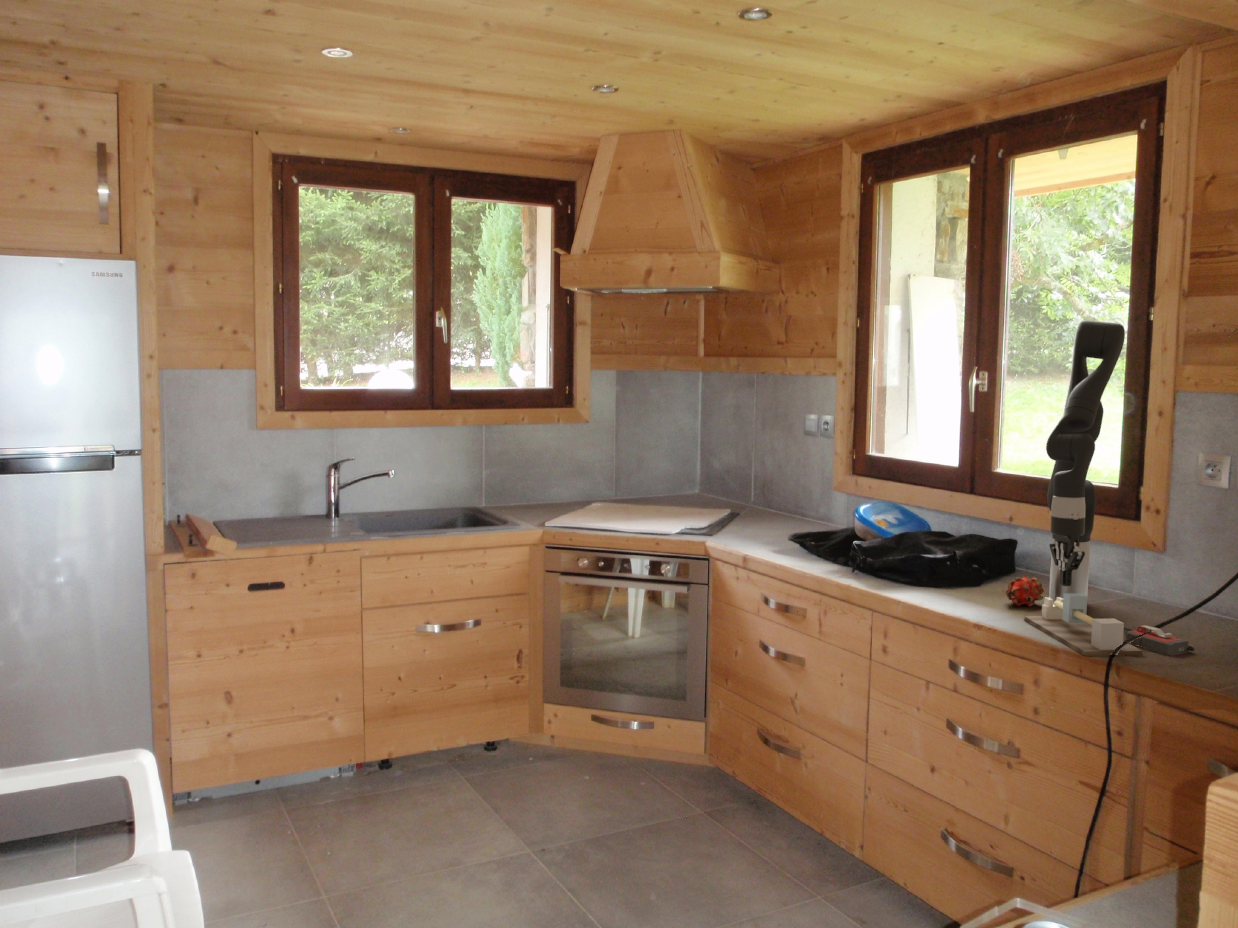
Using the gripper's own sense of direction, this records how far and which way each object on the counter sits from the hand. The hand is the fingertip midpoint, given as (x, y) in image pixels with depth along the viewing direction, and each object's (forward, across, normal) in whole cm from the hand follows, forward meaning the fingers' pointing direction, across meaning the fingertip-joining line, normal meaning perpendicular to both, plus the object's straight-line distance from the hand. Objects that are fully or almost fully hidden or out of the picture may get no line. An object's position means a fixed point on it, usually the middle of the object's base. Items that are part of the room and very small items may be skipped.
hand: (1065, 585), depth 241 cm
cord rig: (+10, +9, -1) cm, 14 cm away
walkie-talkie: (+11, +14, +12) cm, 22 cm away
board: (+10, +9, -1) cm, 14 cm away
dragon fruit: (+10, -21, 0) cm, 24 cm away
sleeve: (+7, +6, -1) cm, 9 cm away
